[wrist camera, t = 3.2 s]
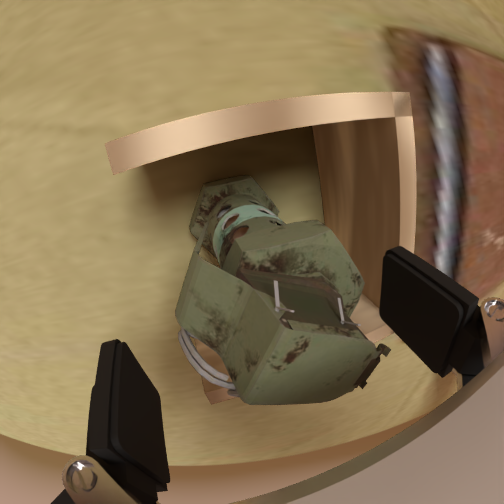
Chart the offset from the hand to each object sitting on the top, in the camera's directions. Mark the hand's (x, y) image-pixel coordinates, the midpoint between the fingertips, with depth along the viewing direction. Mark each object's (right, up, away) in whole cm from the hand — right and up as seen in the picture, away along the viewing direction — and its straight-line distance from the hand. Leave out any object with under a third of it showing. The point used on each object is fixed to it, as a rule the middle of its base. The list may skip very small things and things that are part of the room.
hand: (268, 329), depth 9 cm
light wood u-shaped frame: (-1, +5, +11) cm, 13 cm away
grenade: (-3, +5, +11) cm, 13 cm away
